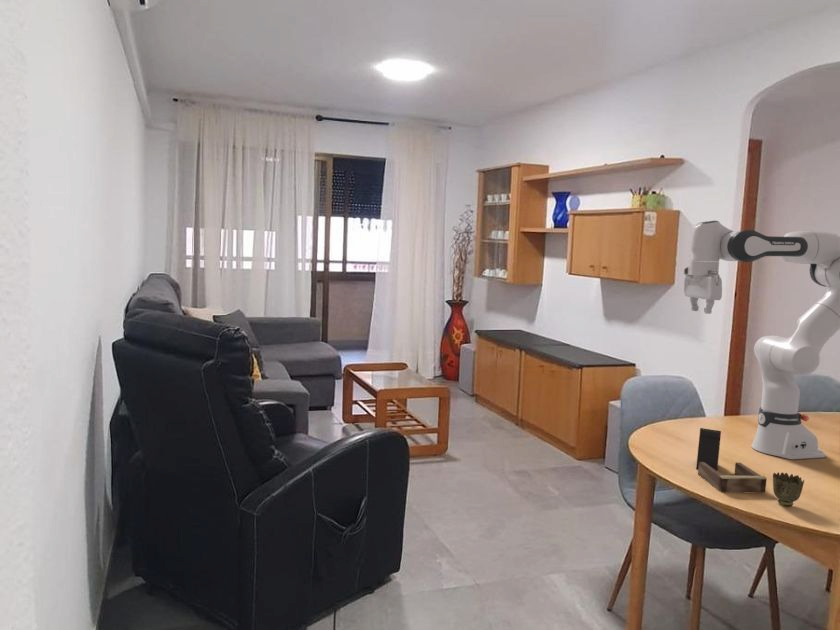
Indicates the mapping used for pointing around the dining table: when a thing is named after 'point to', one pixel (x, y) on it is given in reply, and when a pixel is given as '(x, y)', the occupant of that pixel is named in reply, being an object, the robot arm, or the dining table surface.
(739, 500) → the dining table surface
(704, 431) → the phone stand
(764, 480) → the frame
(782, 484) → the cup
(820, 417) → the dining table surface
